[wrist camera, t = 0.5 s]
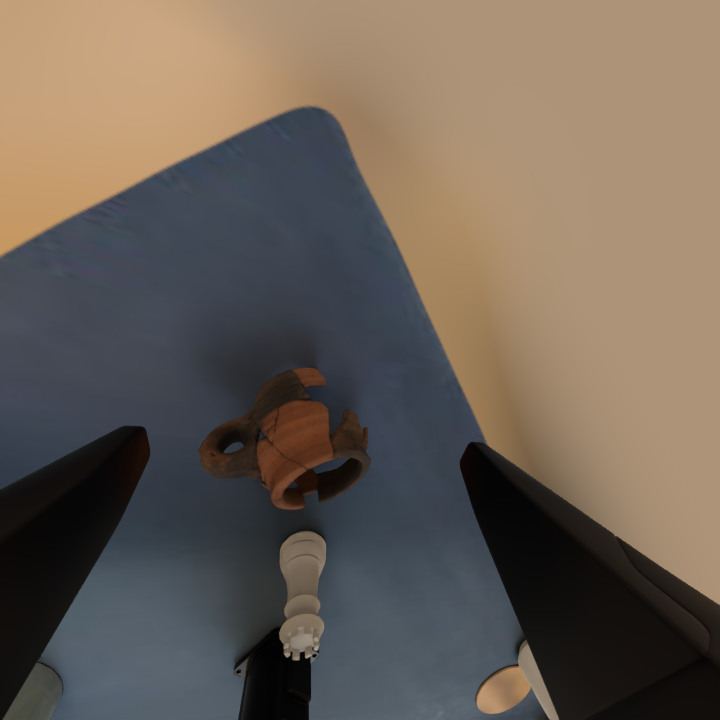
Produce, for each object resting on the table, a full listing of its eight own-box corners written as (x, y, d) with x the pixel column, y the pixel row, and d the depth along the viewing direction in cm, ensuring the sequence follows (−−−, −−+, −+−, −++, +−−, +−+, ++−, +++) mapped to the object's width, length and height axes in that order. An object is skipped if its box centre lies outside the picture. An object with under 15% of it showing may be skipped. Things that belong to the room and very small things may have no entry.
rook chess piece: (271, 556, 26) (256, 663, 19) (295, 521, 26) (290, 616, 18) (310, 570, 28) (312, 675, 20) (334, 536, 27) (345, 631, 20)
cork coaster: (497, 718, 40) (498, 721, 40) (463, 699, 38) (464, 701, 37) (542, 678, 40) (543, 680, 40) (511, 656, 37) (512, 658, 37)
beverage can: (528, 626, 36) (629, 777, 25) (560, 631, 38) (669, 776, 27) (505, 660, 37) (593, 823, 26) (537, 664, 39) (634, 818, 27)
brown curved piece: (349, 353, 24) (395, 429, 18) (336, 421, 29) (367, 495, 24) (189, 372, 19) (183, 485, 13) (211, 450, 24) (213, 551, 19)
